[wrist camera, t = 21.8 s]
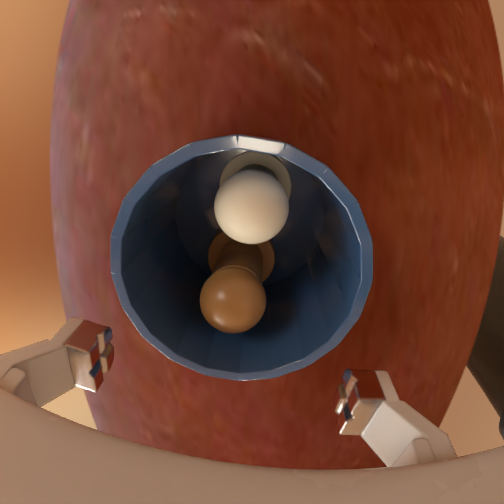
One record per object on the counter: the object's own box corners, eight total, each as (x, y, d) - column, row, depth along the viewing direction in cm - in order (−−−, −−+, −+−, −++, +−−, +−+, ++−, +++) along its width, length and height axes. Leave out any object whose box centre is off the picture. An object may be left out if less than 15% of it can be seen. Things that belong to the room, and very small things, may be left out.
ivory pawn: (295, 156, 18) (316, 171, 11) (282, 222, 19) (292, 275, 12) (227, 145, 18) (202, 151, 11) (217, 210, 19) (189, 257, 12)
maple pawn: (280, 227, 20) (288, 283, 12) (267, 285, 21) (268, 361, 14) (215, 215, 20) (185, 265, 12) (207, 275, 21) (179, 346, 14)
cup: (344, 153, 18) (404, 171, 10) (309, 299, 22) (329, 391, 14) (181, 125, 18) (118, 121, 10) (165, 274, 22) (114, 354, 13)
